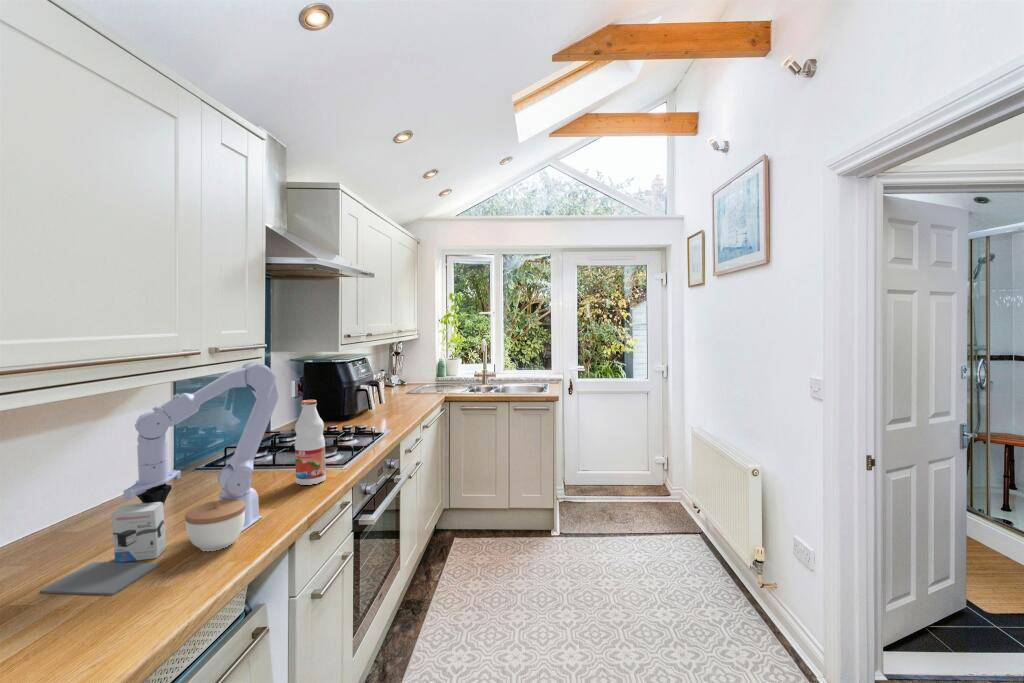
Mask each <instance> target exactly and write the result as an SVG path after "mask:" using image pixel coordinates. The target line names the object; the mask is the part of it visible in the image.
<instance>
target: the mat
mask: <svg viewBox="0 0 1024 683" xmlns="http://www.w3.org/2000/svg"><path fill="white" fill-rule="evenodd" d="M160 566H161V563H155V562H154V563H153V562H151V563H149V562H146V563H145V562H144V563H143V562H121V563H117V562H115V561H114V562H113V561H111V562H110V561H93V562H91V563H89V564H87V565H85V566H83V567H82V568H80V569H78V570H75V571H74V572H72V573H70V574H68V575H66V576H64V577H63V578H61V579H59V580H57V581H55V582H53V583H52V584H50V585H48V586H46V587H44V588H42V589H41V590H39V593H40V592H42V593H41V594H70V595H71V594H72V595H74V594H75V595H98V596H99V595H103V596H105V595H106V596H115V595H116V594H118V593H120V592H121V591H122V590H124V589H126V588H127V587H128V586H130V585H132V584H134V583H135V582H136V581H138V580H140V579H141V578H143V577H144V576H146V575H148V574H149V573H151V572H152V571H154V570H156V569H157V568H158V567H160ZM44 592H45V593H44ZM48 592H49V593H48Z"/></svg>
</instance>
